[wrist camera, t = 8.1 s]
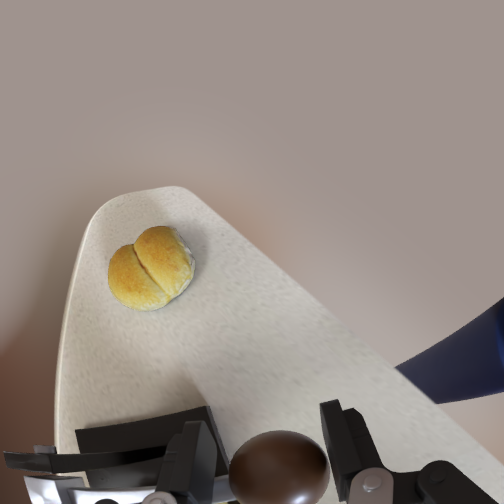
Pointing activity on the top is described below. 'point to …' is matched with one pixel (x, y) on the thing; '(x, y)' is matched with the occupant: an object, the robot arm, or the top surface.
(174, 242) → the bread roll
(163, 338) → the top surface
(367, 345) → the top surface
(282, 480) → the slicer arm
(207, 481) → the robot arm
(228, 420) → the top surface
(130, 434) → the slicer
